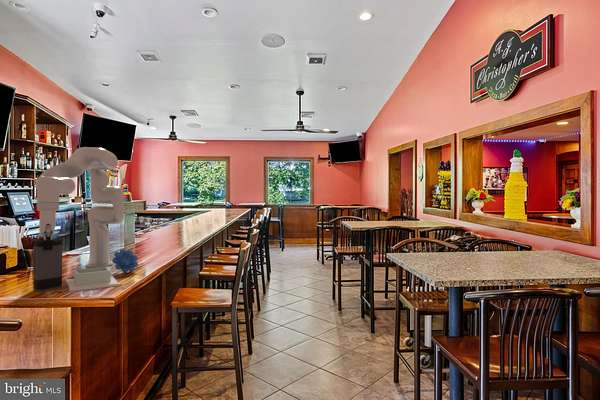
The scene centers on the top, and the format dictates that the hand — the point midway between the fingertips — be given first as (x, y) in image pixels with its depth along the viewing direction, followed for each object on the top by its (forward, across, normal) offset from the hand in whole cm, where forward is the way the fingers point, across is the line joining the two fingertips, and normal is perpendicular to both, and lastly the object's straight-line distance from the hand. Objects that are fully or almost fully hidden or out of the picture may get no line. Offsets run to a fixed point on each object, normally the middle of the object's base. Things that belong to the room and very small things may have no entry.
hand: (47, 248), depth 153 cm
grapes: (+16, -15, +32) cm, 39 cm away
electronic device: (+17, -1, 0) cm, 17 cm away
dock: (+16, -1, +16) cm, 23 cm away
